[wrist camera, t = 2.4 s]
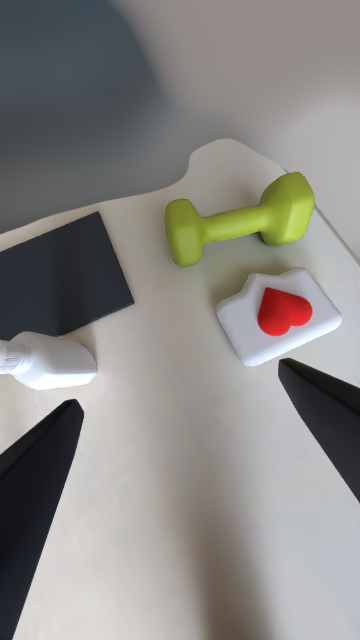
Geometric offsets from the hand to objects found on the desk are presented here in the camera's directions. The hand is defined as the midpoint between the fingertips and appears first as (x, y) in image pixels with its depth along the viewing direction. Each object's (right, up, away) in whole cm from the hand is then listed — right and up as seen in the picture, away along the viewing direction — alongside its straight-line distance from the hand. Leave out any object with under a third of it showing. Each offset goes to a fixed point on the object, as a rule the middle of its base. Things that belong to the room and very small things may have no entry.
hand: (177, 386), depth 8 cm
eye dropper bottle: (-12, -3, +15) cm, 20 cm away
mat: (-19, +8, +19) cm, 28 cm away
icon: (+11, +4, +15) cm, 19 cm away
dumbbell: (+7, +14, +18) cm, 24 cm away
